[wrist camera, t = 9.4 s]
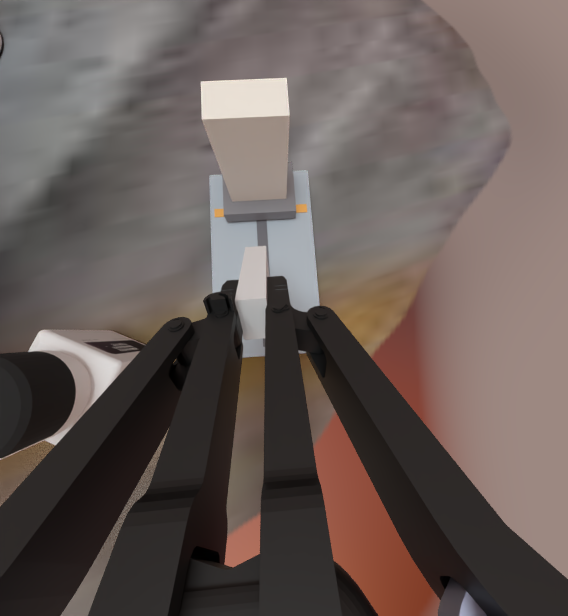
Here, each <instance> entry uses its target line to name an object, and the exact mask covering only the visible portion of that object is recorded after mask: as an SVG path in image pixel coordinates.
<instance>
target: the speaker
mask: <svg viewBox="0 0 568 616" xmlns="http://www.w3.org/2000/svg"><path fill="white" fill-rule="evenodd" d="M2 47H3V41H2V36H1V34H0V53H1V51H2Z"/></svg>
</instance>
